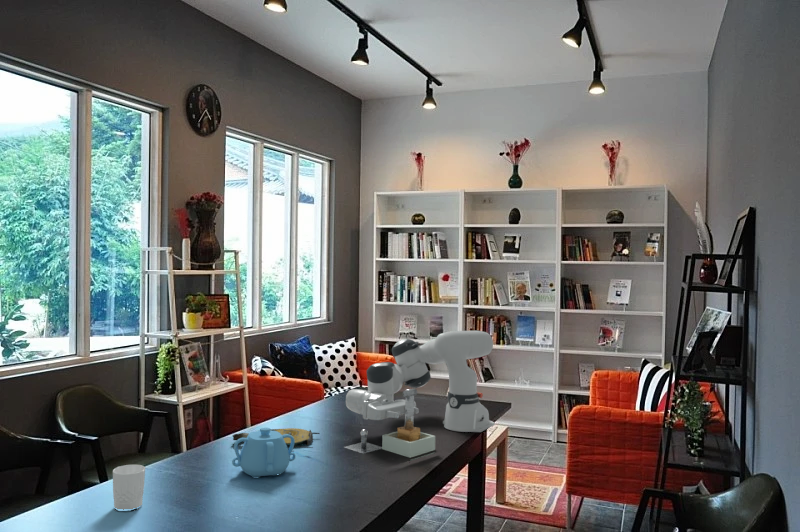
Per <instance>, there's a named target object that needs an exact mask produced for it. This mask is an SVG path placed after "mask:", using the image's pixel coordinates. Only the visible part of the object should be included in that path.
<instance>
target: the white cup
mask: <svg viewBox="0 0 800 532" xmlns="http://www.w3.org/2000/svg"><path fill="white" fill-rule="evenodd" d="M145 476H146V467H145V466H144V465H141V464H126V465H125V464H124V465H121V466H117V467H115V468H114V469H112V492H113V495H112V496H113V508H114V507H115V508H117V509H123V510H124V509H133V508H137V507H139V506H141V505H142V506H143V498H144V497H143V496H144V491H145V490H144V489H145V478H146V477H145ZM142 506H141V507H142Z"/></svg>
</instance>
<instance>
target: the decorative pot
mask: <svg viewBox="0 0 800 532" xmlns="http://www.w3.org/2000/svg"><path fill="white" fill-rule="evenodd" d="M287 437H288V438H290V439H291V444H290V447H287V445H286V443H285V441H284V438H287ZM242 442H243V445H242V447H241V450H240V452H239V448H238V447H239V446H238V445H239V444H240V443H242ZM294 443H295V440H294V437H293V436H291V435H289V434H284V435H281V434H280V433H279V432H277V431H271V428H270V427H261V428H259V430H257V431H256V430H255V431H251V432H249V434H248V436H247V438H240V439H238V440H235V442H234V444H233V450H234V452H235V453H234V454H235V455H236V457H234V458H233V459H232V462H231V464H232V466H234V467H235V468H237V467H240V468H241V469H242V472H244V473H245V474H247V475H249V476H252V477H259V476H260V477H265V476H267V477H268V476H274V475H277V474H280V473H281V474H283V473H285V471H286V470H287V469H288V467H289V465H290V462H293V461H295V460H296V457H297V456H296V453H295V452H293V451H292V450H293V449H294V448H295V447H294ZM288 449H289V450H288ZM236 461H237V462H236ZM252 477H251V478H252ZM260 477H259V478H260Z"/></svg>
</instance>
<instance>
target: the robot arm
mask: <svg viewBox="0 0 800 532" xmlns="http://www.w3.org/2000/svg"><path fill="white" fill-rule="evenodd" d="M493 340H494V339H493V337H492V336H491V334H489V333H488V332H486V331H482V330H477V329H476V330H450V331H446V332H442V333H439V334H438V335H437V336H436V338H433V339H429V340H428V341H427V342H425V343H423V344H421V345H419V341H415V340H413V339H409V338H406V339H400V340H398V341H397V342H396V343H395V344H394V345H393V346H392V348H391V354H392V356H393V357H394V360H395V362H396V363H393V362H392V361H382V362H377V363H373V364H371V365H369V367H368V368H367V369H366V379H367V390H366V389H359V388H358V389H357V388H354V389H353V388H352V389H350V390H348V392H346V395H345V406H346V408H347V410H350V411H351V412H354V413H356V414H359V415H362V419H363V420H372V421H382V420H385V419H390V418H392V419H400V418H401V417H402V415H405V400H406V399H395V400H394V394H396V393H398V392H399V391H400V390H402V387H403V385H404V386H406V387H407V386H408V387H409V388H411V389H417V388H422V387H424V386H425V385H426V384H428V382H430V380H431V378H432V377H431V373H430V370H428V367H427V365H426V364H430V365H441V364H445V365H446V367H447V371H448V392H447V401H448V402H447V403H446V405H445V414H444V420H442V425H443V428H445V429H447V430H450V431H453V432H462V433H464V432H465V433H468V432H469V433H470V432H471V433H482V432H483V431H487V430H488V429H489V428H491V427H493V426H495V422H494V421H492V420H490V414H489V410H488V409H487V407H485V406H484V405H483V404H481V402H480V399H479V398H481V399H483V396H484V394H483V392H479V391H477V389H478V386H477V385H478V384H477V383H478V376H477V373H476V371H475V370H474V369H472V368H471V367H470V366H468V362H467V360H470V359H471V360H472V359H478V358H481V357H485V356H489V354H491V352H492V351H493V348H494V341H493ZM419 412H420V409H419V408H418V407H417V403H416V401H415V400H414V415H416V414H419Z"/></svg>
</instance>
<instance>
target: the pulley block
mask: <svg viewBox="0 0 800 532" xmlns="http://www.w3.org/2000/svg"><path fill="white" fill-rule="evenodd" d="M270 429H271V428H270ZM271 431H277V432H279V433H280V434H281V435H284V434H289V435H291V436H293V437H294V440H295V443H294V447H293V448H306V449H313V448H314V446H309V445H312V444H311V443H313V440H314V435H320V432H312V429H309V430H307V429H302V428H295V427H294V428H292V427H290V428H289V427H287V428H272V429H271ZM249 433H250V432H249ZM249 433H248V432H241V433H234V434H233V435H232V441H237V440H238V439H240V438H247V436H248V434H249ZM284 441H285V443H286V445H287V448H288V450H289V447H290V444H291V439H290V438H288V437H287V438H284Z"/></svg>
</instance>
